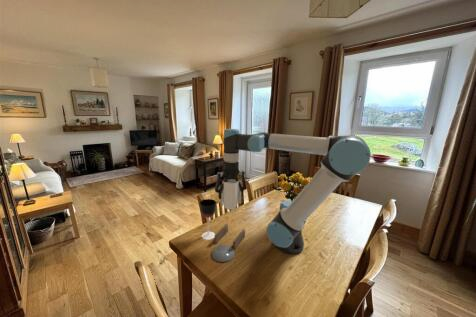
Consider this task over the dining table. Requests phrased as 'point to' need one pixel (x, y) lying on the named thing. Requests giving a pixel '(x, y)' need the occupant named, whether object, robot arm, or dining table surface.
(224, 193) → the cup
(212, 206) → the wineglass
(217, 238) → the rail slot
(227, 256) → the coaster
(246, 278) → the dining table surface
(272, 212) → the dining table surface
